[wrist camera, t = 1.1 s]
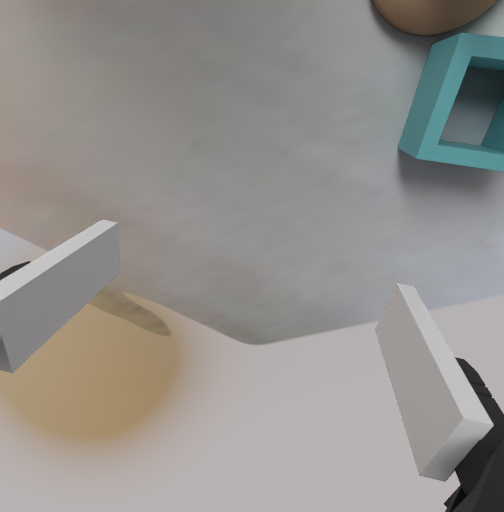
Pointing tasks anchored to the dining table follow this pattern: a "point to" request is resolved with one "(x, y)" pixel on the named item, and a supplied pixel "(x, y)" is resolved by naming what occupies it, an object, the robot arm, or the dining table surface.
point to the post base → (430, 14)
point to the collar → (443, 96)
